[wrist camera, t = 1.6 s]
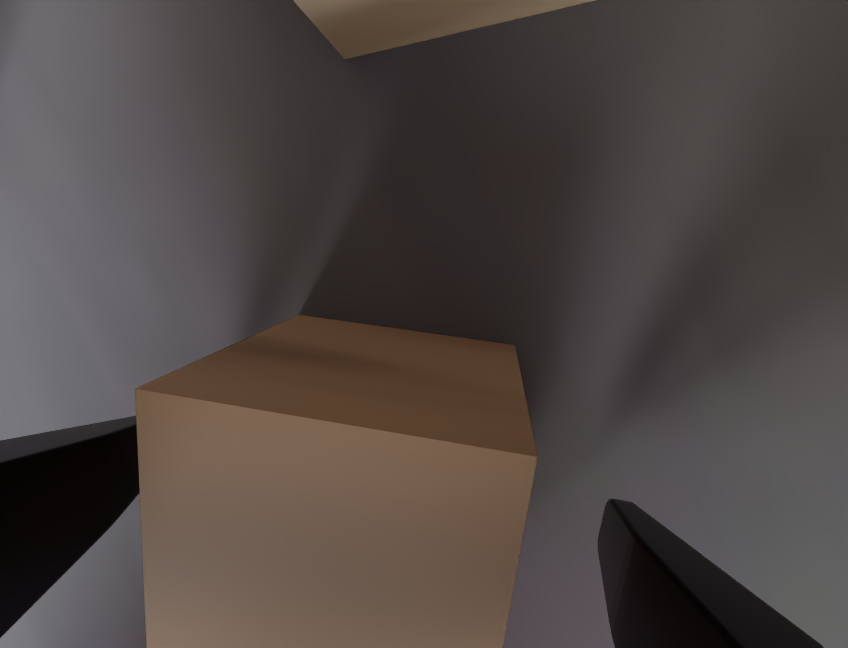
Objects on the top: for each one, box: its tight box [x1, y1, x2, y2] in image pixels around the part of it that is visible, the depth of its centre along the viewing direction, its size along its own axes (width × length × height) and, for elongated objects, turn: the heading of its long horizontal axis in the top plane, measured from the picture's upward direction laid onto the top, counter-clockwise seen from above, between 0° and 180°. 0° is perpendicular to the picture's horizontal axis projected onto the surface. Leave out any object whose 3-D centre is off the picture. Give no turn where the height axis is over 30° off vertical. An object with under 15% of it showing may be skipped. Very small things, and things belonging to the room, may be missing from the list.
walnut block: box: [135, 315, 537, 648], centre depth 8 cm, size 5×5×5 cm
